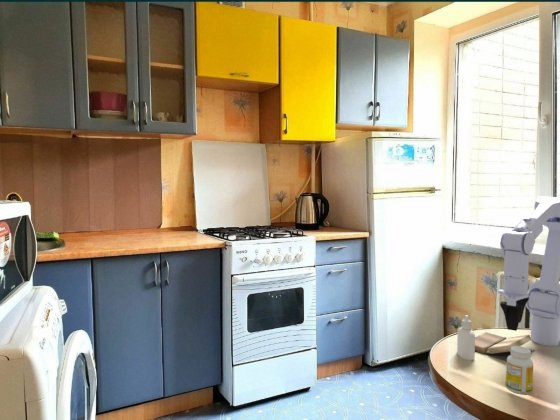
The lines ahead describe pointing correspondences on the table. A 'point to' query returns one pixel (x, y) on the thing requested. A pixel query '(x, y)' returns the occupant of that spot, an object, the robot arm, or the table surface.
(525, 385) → the supplement bottle
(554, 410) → the table surface
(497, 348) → the board
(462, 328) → the eye dropper bottle
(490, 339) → the floor section
